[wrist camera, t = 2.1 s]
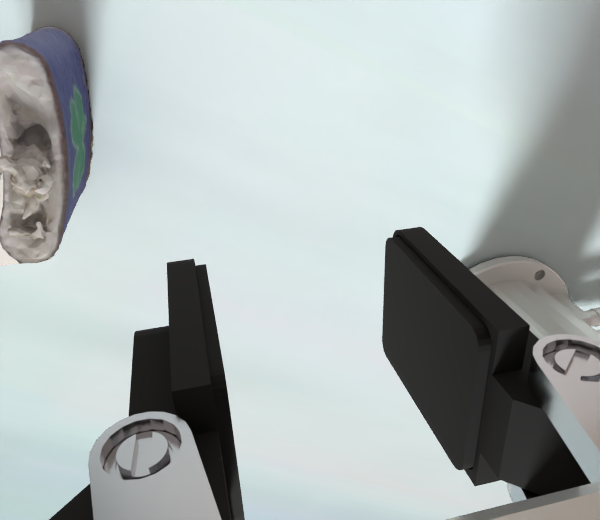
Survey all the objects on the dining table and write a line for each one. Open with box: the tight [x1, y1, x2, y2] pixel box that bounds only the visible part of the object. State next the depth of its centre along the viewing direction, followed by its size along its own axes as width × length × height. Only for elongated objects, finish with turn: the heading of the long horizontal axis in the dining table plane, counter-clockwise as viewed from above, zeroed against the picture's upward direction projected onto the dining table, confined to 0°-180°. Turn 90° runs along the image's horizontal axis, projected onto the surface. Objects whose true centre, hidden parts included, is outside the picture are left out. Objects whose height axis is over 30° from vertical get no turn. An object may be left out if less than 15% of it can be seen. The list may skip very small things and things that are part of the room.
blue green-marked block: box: [0, 26, 93, 263], centre depth 25 cm, size 9×3×11 cm, turn 172°
